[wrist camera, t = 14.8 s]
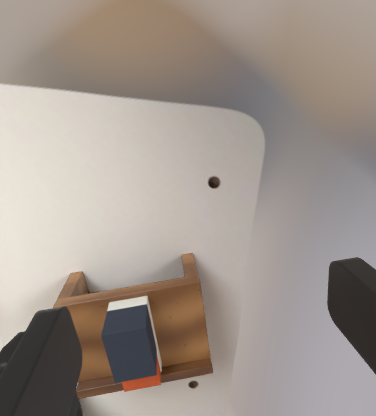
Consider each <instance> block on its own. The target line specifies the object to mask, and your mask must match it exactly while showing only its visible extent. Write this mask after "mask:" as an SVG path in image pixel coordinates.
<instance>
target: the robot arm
mask: <svg viewBox="0 0 376 416" xmlns="http://www.w3.org/2000/svg"><path fill="white" fill-rule="evenodd" d="M327 302H328V310H329V313H330V316H331V318H332V320H333V321H334V323H335V325H336V326H337V327H338V328H339V330H340V331H341V332H342V333H343V335H344V336H345V337H346V338H347V339H348V341H349V342H350V343H351V344H352V346H353V347H354V348H355V349H356V350H357V352H358V353H359V354H360V355H361V357H362V358H363V359H364V360H365V362H366V363H367V364H368V365H369V367H370V368H371V369H372V370H373V372H374V373H375V374H376V270H375V269H374V268H373V267H371V266H370V265H369V264H367V263H366V262H365V261H364V260H362V259H360V258H350V259H345V260H338V261H333V262H331V264H330V267H329V281H328V301H327ZM81 368H82V348H81V344H80V341H79V338H78V335H77V332H76V329H75V326H74V323H73V320H72V317H71V314H70V311H69V309H68V308H67V307H65V306H64V307H59V308H53V309H47V310H41V311H38V312H37V313H36V314H35V315H34V317H33V319H32V321H31V322H30V324H29V326H28V328H27V329H26V331H25V332H20V333H18V334H17V335H16V336H15V337H14V338H13V339H12V340H11V341H10V342H9V343H8V344H7V345H6V346H5V347H4V348H2V350H1V352H0V416H68V415H69V411H70V408H71V404H72V401H73V397H74V394H75V390H76V386H77V383H78V379H79V376H80V372H81Z"/></svg>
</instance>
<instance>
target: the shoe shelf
mask: <svg viewBox="0 0 376 416" xmlns="http://www.w3.org/2000/svg"><path fill="white" fill-rule="evenodd" d="M181 256H182V262H183V268H184V275H185V277H184V278H178V279H172V280H166V281H161V282H155V283H149V284H143V285H138V286H132V287H126V288H120V289H114V290H109V291H103V292H97V293H91V294H89V293H88V290H87V286H86V283H85V280H84V276H83V273H82V272H76V273H71V274H70V276H69V278H68V280H67V282H66V283H65V285H64V287H63V289H62V291H61V293H60V295H59V297H58V299H57V301H56V303H55V305H54V307H53V308H59V307H64V306H65V307H67V308H68V309H69V311H70V314H71V317H72V320H73V323H74V326H75V329H76V332H77V335H78V338H79V341H80V344H81V348H82V368H81V372H80V376H79V379H78V382H79V383H78V386H77V390H76V393H77V396H78V399H80V398H86V397H91V396H96V395H101V394H106V393H112V392H117V391H122V390H124V389H123V385H122V382H118V383H115V382H114V378H113V375H112V371H111V368H110V365H109V361H108V358H107V354H106V351H105V347H104V344H103V340H102V337H101V334H102V330H103V326H104V322H105V318H106V313H107V310H108V305H109V302H114V301H119V300H125V299H131V298H136V297H142V296H148V301H149V305H150V310H151V315H152V319H153V324H154V329H155V334H156V338H157V343H158V348H159V353H160V357H161V365H162V371H161V383H164V382H169V381H174V380H179V379H184V378H190V377H195V376H200V375H205V374H210V373H213V368H212V363H211V358H210V351H209V344H208V337H207V329H206V322H205V315H204V307H203V300H202V293H201V286H200V280H199V276H198V272H197V269H196V265H195V261H194V257H193V253H189V254H183V255H181Z"/></svg>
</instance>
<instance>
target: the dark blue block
mask: <svg viewBox="0 0 376 416" xmlns="http://www.w3.org/2000/svg"><path fill="white" fill-rule="evenodd" d="M101 337H102V340H103V344H104V347H105V351H106V354H107V358H108V361H109V365H110V368H111V371H112V375H113V378H114V382H115V383H118V382H122V385H123V389H124V392H125V391H130V390H136V389H141V388H146V387H151V386H156V385H161V371H162V365H161V357H160V353H159V348H158V343H157V338H156V334H155V329H154V324H153V319H152V315H151V310H150V305H149V301H148V296H142V297H136V298H131V299H125V300H119V301H114V302H109V305H108V310H107V313H106V318H105V322H104V326H103V330H102V334H101Z"/></svg>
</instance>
